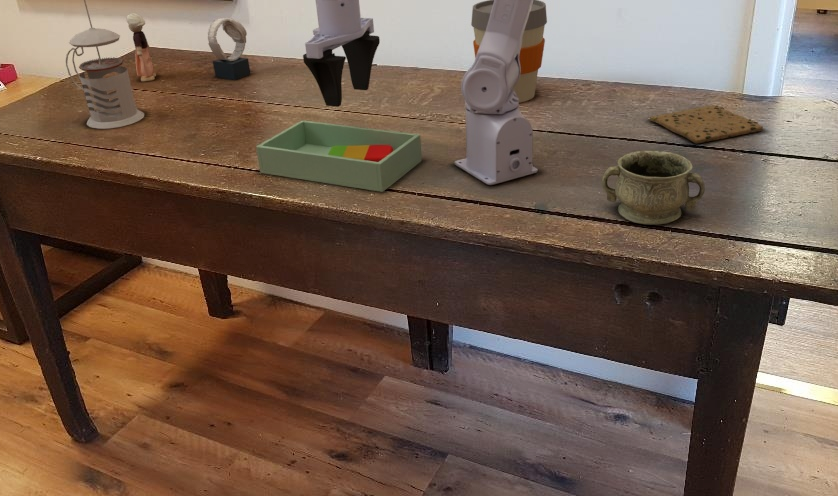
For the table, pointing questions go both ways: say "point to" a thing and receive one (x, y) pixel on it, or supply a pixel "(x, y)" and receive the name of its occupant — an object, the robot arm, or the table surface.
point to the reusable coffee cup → (529, 49)
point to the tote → (308, 156)
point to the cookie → (706, 123)
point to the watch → (233, 64)
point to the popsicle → (362, 152)
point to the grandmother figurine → (141, 48)
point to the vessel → (652, 186)
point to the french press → (104, 82)
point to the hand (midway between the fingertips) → (347, 97)
